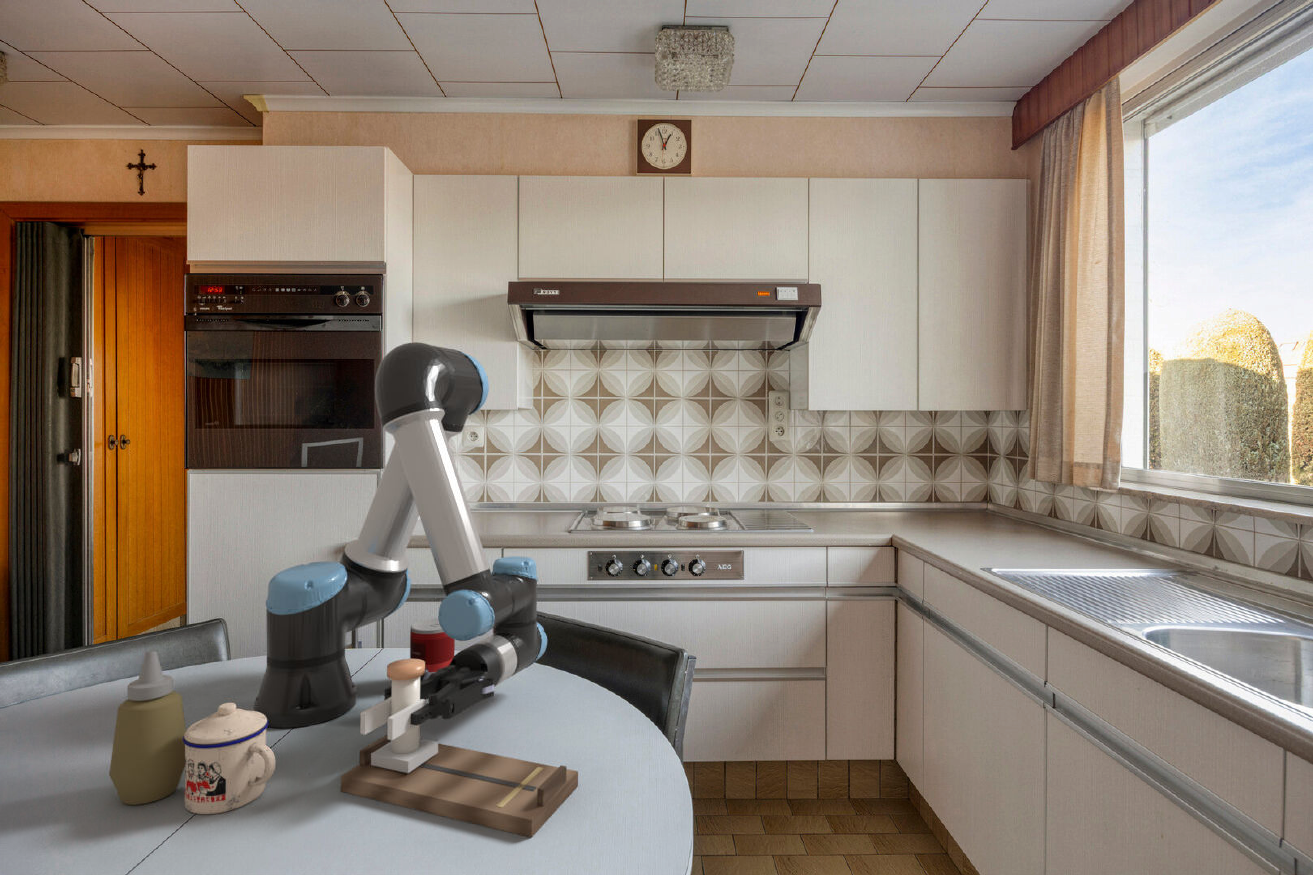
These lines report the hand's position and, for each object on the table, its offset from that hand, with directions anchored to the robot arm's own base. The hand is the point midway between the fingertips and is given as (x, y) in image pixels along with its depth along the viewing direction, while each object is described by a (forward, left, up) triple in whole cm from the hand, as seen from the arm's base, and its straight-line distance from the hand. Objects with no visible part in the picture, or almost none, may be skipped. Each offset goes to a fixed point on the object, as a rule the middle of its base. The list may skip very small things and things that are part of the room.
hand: (376, 726), depth 86 cm
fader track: (+9, +5, -9) cm, 14 cm away
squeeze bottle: (-27, -10, -9) cm, 30 cm away
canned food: (-18, +34, -9) cm, 40 cm away
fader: (0, +5, -7) cm, 9 cm away
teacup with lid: (-16, -7, -9) cm, 20 cm away
